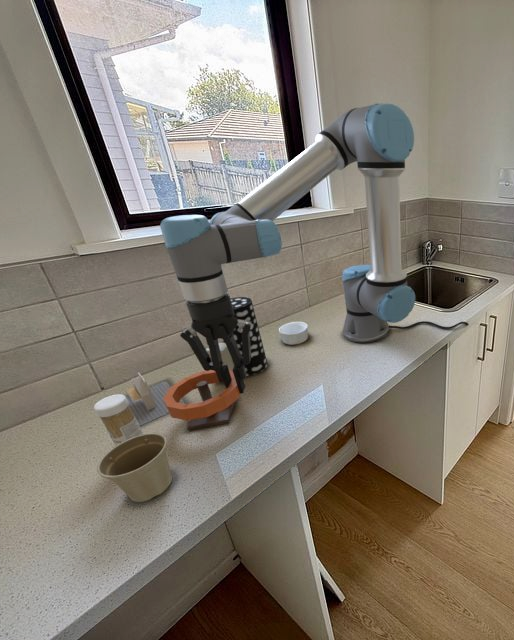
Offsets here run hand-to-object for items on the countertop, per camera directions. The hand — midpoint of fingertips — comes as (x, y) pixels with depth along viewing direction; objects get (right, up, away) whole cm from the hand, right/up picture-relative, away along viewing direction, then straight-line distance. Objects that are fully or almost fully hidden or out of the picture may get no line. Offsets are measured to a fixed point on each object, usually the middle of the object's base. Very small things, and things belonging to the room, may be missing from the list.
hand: (237, 390), depth 77 cm
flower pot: (-6, -14, -16) cm, 23 cm away
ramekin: (+1, +10, +33) cm, 34 cm away
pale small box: (-10, 0, +14) cm, 17 cm away
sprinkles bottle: (-15, -11, -9) cm, 21 cm away
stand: (-6, -6, +1) cm, 8 cm away
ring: (-6, -1, -1) cm, 6 cm away
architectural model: (-24, -4, +4) cm, 25 cm away
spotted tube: (-6, +3, +18) cm, 19 cm away
